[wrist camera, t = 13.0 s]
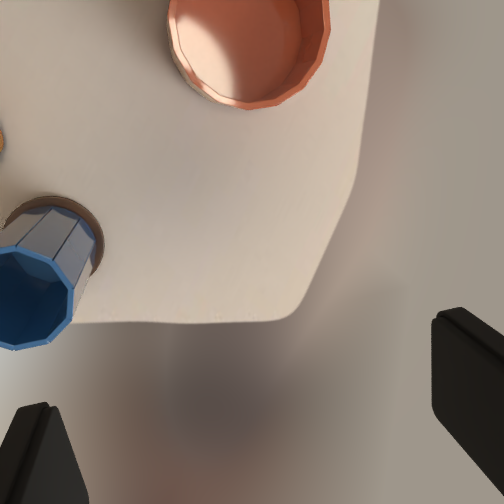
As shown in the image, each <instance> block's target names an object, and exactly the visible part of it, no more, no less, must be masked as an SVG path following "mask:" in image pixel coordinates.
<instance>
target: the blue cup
mask: <svg viewBox="0 0 504 504" xmlns="http://www.w3.org/2000/svg"><path fill="white" fill-rule="evenodd" d="M95 239H96V238H95V237H94V234H93V232H92V230H91V228H90V227H89V225H88V224H87V223H86V221H85V220H84V219H82V218H81V217H80V216H79V215H77V214H76V213H74V212H72V211H70V210H68V209H65V208H62V207H57V206H42V207H38V208H34V209H31V210H27V211H25V212H23V213H22V214H21V215H20V216H19V217H18V218H16V219H15V220H14V221H13V222H12V223H11V224H9V225H8V226H7V227H6V228H5V229H4V230H2V231H1V232H0V347H2V348H6V349H9V350H15V351H17V350H21V349H26V348H31V347H36V346H40V345H45V344H48V343H49V342H51V341H53V340H54V339H55V337H56V336H58V334H59V333H60V332H61V331H62V330H63V329H64V328H65V327H66V326H67V325H68V324H69V323H70V322H71V321H72V319H73V317H74V314H75V312H76V309H77V306H78V304H79V301H80V299H81V296H82V294H83V291H84V289H85V286H86V283H87V281H88V278H89V276H90V273H91V271H92V268H93V266H94V263H95V254H96V240H95Z"/></svg>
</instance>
